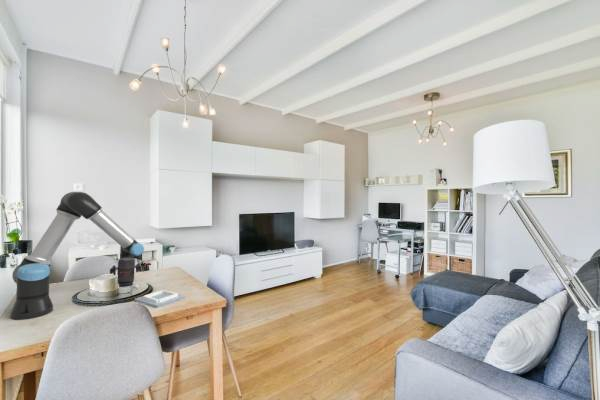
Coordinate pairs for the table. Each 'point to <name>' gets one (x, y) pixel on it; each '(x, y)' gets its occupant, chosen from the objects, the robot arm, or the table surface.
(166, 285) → the table surface
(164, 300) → the board
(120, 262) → the camera lens
